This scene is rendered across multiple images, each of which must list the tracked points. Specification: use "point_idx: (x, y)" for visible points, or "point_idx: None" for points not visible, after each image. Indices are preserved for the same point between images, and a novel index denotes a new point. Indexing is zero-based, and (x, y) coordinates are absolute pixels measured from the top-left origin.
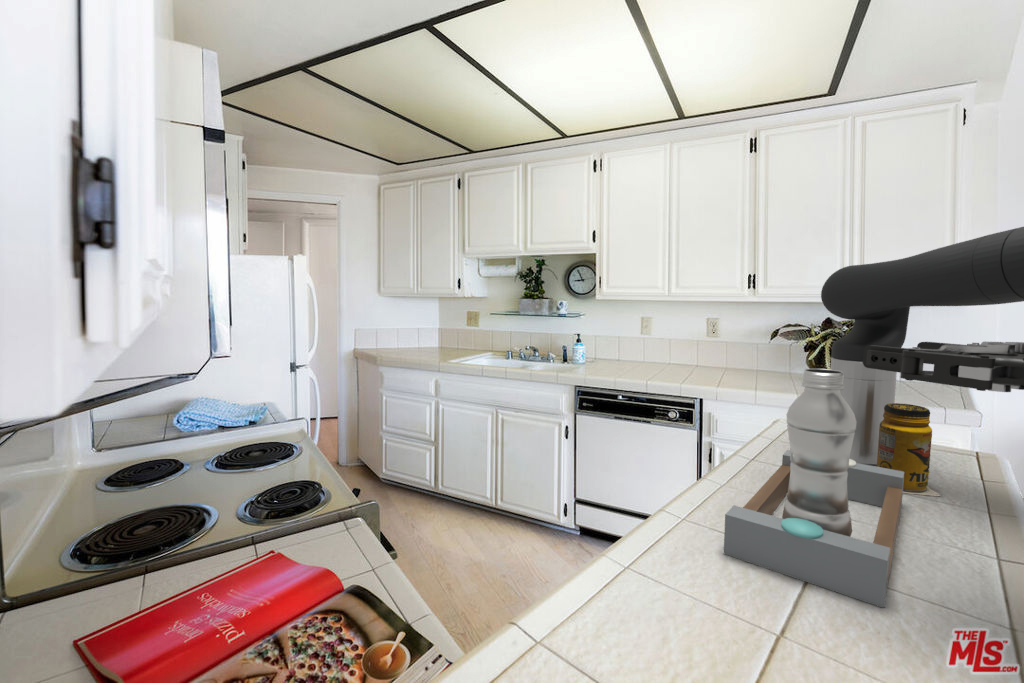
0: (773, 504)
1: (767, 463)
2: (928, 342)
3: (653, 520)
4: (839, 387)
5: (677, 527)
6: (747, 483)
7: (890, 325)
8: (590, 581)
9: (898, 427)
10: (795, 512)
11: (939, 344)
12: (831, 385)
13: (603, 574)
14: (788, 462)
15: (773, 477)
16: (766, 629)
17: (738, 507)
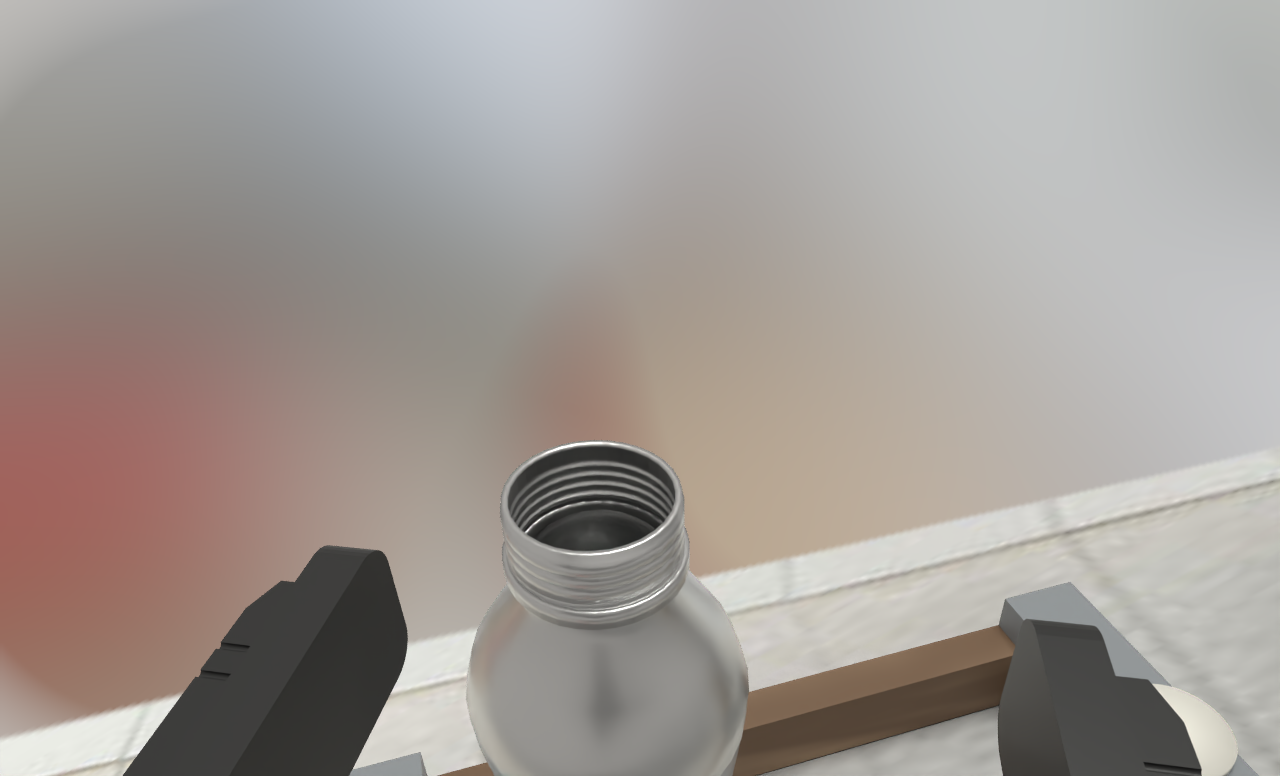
0: (752, 760)
1: (1092, 568)
2: (1040, 670)
3: (411, 644)
4: (570, 617)
5: (420, 696)
6: (877, 624)
7: None
8: (8, 759)
9: None
10: None
11: (1064, 756)
12: (534, 592)
13: (57, 754)
14: (1012, 631)
15: (857, 670)
16: None
17: (414, 768)
